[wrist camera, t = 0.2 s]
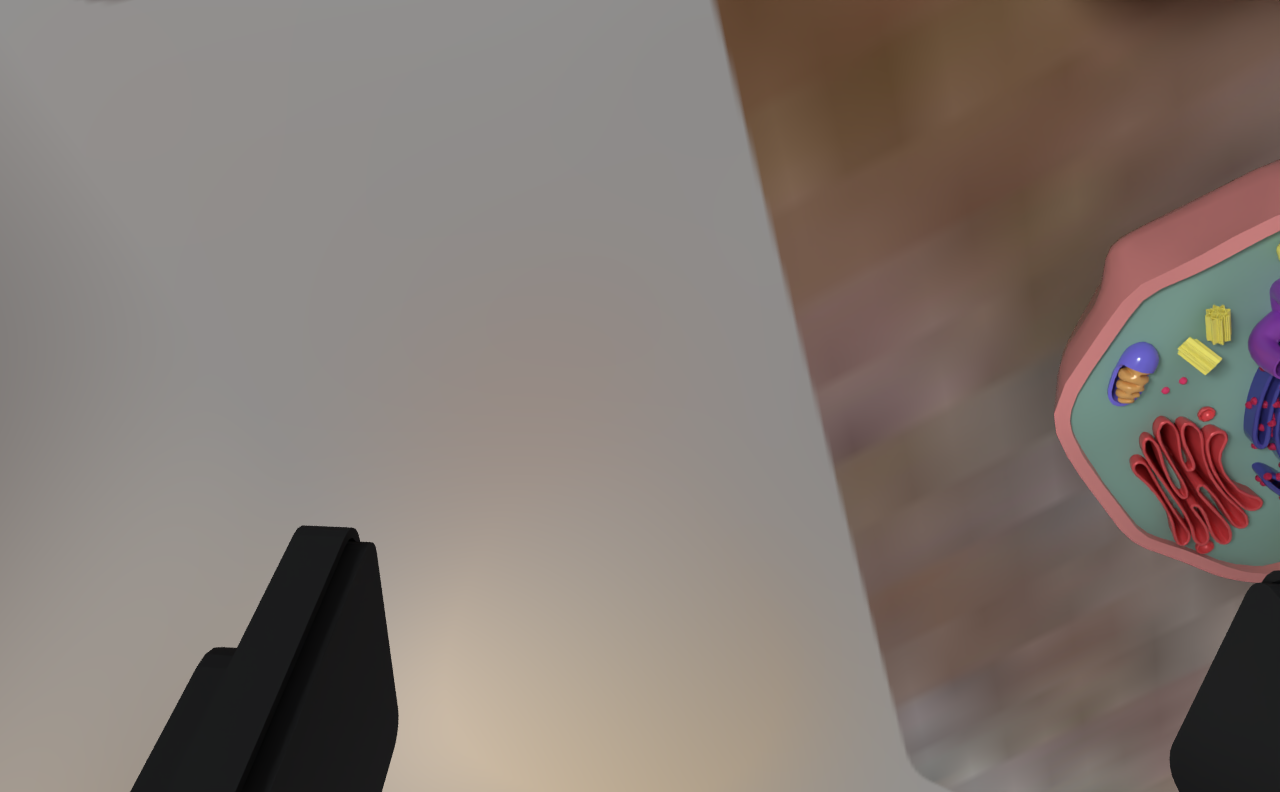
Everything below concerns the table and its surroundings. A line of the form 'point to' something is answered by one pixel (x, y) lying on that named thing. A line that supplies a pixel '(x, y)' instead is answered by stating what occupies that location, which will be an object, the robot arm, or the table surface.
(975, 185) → the table surface
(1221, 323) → the cell model
